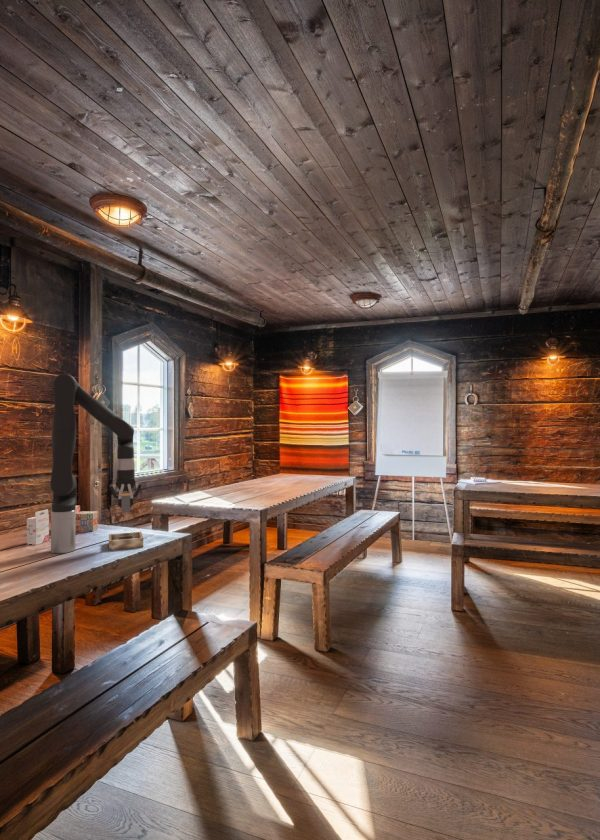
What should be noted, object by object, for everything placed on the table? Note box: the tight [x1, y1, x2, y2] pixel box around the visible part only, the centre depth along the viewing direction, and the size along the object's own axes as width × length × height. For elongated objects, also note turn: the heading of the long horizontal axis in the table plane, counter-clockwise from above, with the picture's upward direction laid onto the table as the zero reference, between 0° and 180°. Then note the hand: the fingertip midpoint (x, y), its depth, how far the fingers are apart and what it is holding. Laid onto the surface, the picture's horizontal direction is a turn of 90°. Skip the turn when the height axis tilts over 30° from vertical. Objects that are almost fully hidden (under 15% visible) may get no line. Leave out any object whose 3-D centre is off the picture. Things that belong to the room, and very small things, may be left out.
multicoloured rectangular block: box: [50, 505, 99, 533], centre depth 246 cm, size 21×6×12 cm, turn 89°
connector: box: [120, 491, 131, 514], centre depth 216 cm, size 4×4×9 cm
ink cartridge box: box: [26, 508, 50, 546], centre depth 221 cm, size 9×5×15 cm, turn 168°
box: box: [108, 531, 144, 551], centre depth 216 cm, size 14×14×4 cm
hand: (125, 506), depth 216 cm, fingers closed on connector, 3 cm apart
